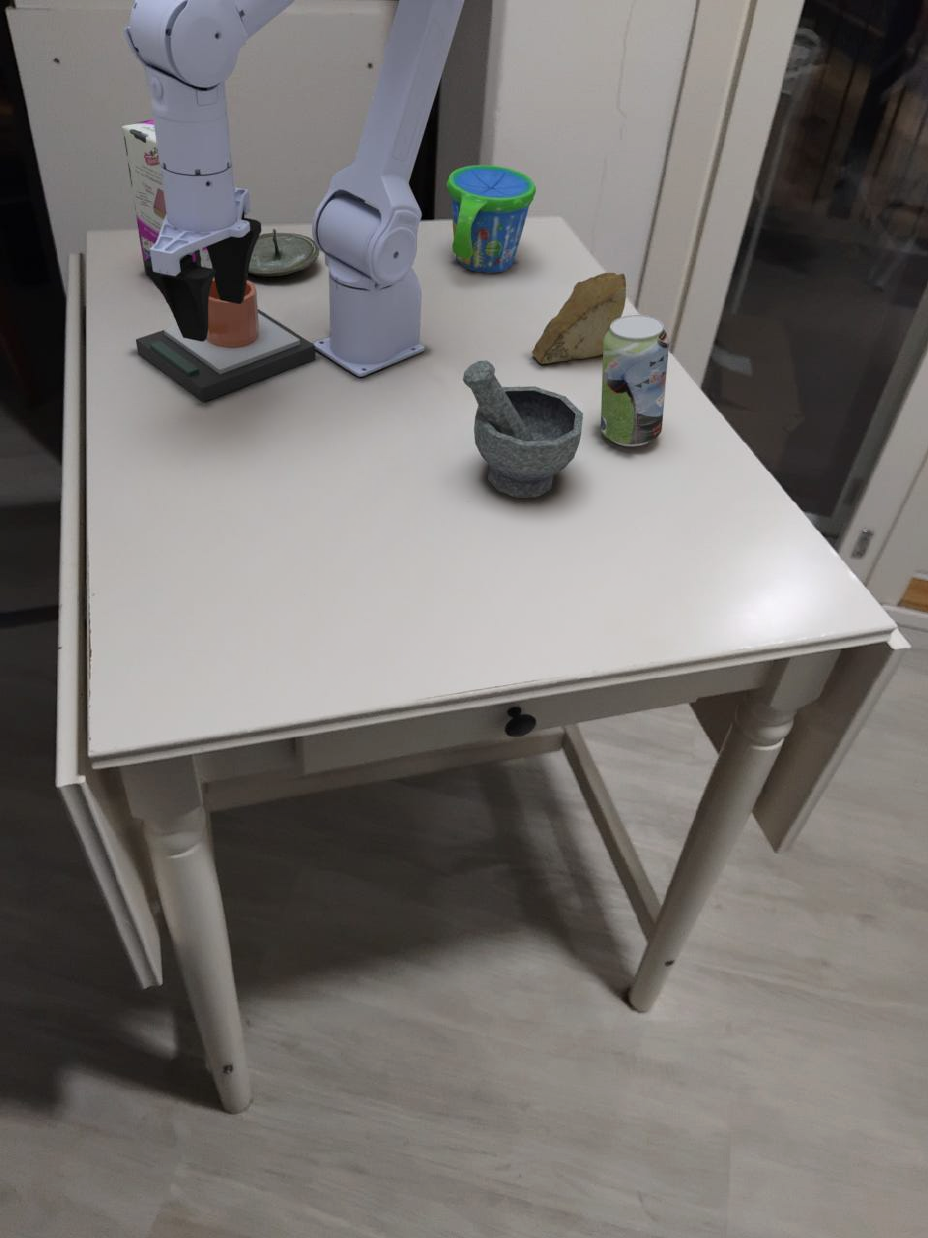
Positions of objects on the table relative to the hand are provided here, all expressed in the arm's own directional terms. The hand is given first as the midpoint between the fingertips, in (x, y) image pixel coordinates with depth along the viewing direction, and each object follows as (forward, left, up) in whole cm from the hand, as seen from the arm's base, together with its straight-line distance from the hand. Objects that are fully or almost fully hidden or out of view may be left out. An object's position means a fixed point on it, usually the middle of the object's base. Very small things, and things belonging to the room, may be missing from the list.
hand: (213, 318), depth 86 cm
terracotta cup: (-7, -8, -7) cm, 13 cm away
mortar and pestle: (-14, +26, -10) cm, 31 cm away
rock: (-37, +14, -10) cm, 41 cm away
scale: (-6, -8, -9) cm, 14 cm away
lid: (-23, -22, -10) cm, 33 cm away
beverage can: (-28, +28, -10) cm, 41 cm away
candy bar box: (-12, -24, -10) cm, 29 cm away
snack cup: (-45, -8, -10) cm, 47 cm away
